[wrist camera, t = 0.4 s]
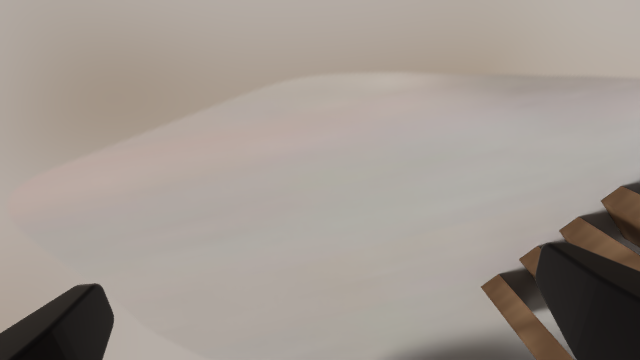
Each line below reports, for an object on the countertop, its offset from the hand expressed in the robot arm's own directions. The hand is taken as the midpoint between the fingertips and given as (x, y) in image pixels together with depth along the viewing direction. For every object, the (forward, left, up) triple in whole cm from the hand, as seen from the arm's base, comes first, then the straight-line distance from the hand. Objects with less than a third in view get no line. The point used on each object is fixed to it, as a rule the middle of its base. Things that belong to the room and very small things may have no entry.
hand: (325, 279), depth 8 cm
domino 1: (-17, -13, -16) cm, 26 cm away
